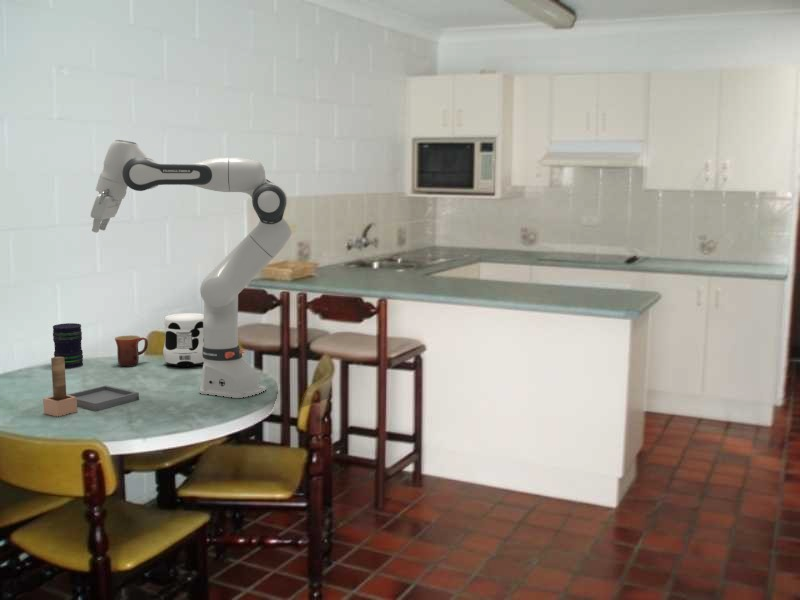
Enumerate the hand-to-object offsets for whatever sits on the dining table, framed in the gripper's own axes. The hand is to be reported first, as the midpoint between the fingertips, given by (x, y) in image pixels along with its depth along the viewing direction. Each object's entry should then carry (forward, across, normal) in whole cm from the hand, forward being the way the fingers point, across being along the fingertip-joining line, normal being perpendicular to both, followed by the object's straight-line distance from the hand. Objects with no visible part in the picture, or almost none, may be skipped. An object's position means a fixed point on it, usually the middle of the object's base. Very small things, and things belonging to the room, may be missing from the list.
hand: (98, 230), depth 271 cm
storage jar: (+56, +38, +3) cm, 68 cm away
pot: (+52, -25, -10) cm, 58 cm away
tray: (+49, -13, -18) cm, 54 cm away
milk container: (+42, +37, -37) cm, 67 cm away
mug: (+49, +38, -18) cm, 65 cm away
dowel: (+51, -25, -10) cm, 58 cm away
